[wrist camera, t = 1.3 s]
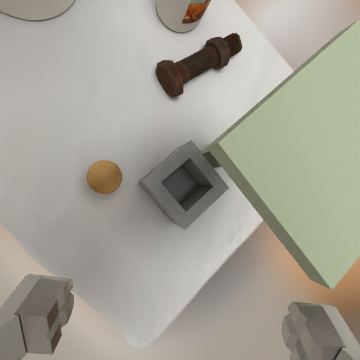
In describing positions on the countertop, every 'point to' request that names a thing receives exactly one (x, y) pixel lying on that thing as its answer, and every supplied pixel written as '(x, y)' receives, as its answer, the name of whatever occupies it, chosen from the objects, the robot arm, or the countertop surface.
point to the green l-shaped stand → (305, 159)
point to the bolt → (197, 63)
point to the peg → (104, 177)
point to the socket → (201, 174)
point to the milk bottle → (181, 13)
